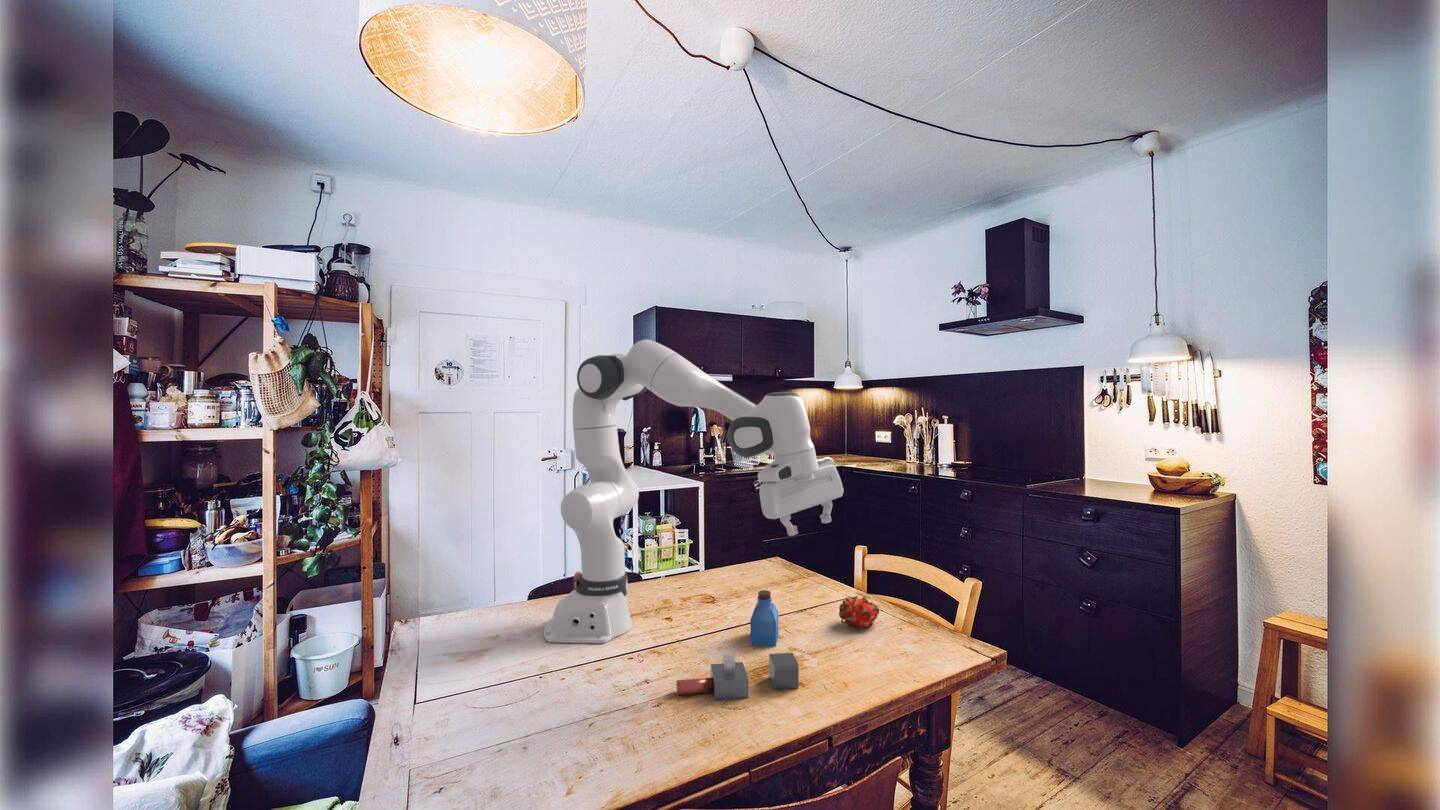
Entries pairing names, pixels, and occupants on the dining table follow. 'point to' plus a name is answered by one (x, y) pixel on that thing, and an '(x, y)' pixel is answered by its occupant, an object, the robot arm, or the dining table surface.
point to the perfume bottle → (764, 621)
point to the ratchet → (719, 681)
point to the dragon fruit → (858, 612)
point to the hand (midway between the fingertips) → (810, 528)
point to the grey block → (783, 671)
